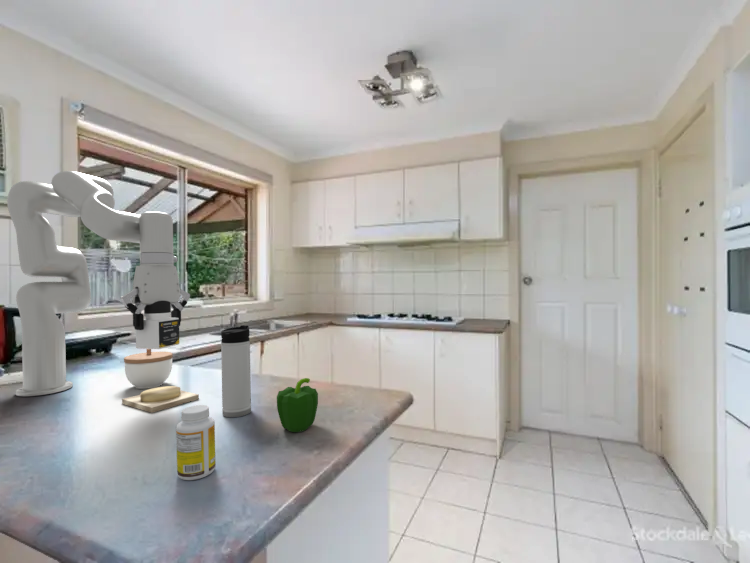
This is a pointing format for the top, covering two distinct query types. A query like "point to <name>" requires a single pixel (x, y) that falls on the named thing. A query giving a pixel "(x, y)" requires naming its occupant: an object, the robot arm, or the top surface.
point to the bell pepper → (297, 406)
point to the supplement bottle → (195, 443)
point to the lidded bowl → (148, 368)
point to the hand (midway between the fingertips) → (158, 327)
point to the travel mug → (236, 371)
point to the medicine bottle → (158, 327)
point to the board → (159, 404)
